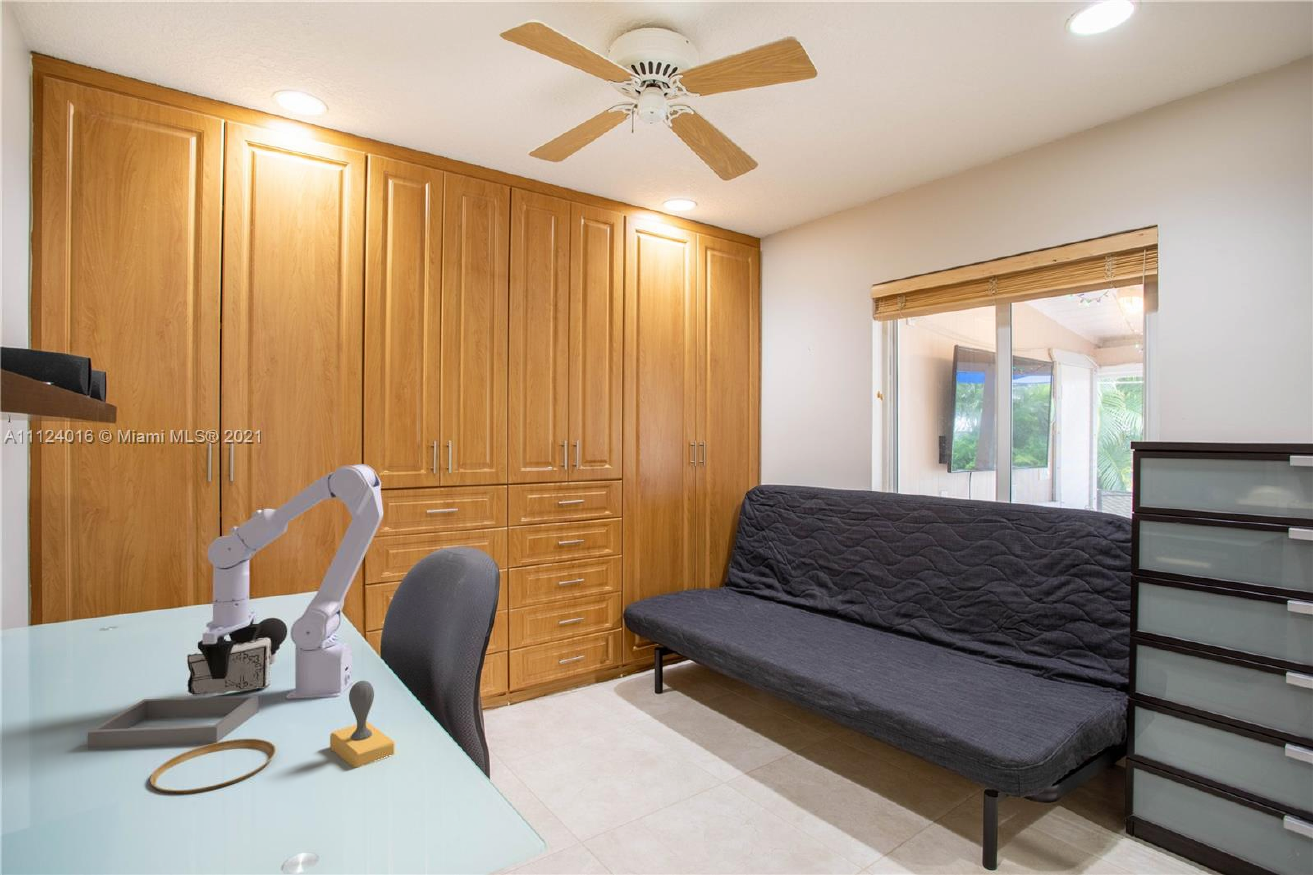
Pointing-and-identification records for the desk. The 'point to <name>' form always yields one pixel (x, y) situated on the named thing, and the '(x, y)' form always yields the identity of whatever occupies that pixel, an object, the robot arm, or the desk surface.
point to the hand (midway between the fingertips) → (230, 670)
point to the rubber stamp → (361, 731)
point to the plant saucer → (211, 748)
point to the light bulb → (273, 634)
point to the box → (122, 735)
